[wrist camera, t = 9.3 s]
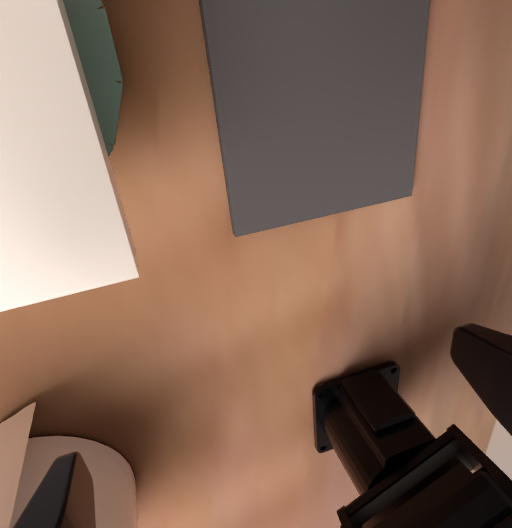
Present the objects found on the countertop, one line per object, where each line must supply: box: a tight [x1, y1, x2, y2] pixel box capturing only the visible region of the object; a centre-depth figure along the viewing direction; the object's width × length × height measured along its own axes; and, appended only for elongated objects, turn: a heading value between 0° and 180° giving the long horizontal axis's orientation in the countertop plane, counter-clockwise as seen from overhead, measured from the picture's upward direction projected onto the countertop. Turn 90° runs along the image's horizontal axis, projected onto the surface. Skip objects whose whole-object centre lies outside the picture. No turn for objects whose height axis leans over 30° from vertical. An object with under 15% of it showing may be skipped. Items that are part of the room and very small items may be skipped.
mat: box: [199, 0, 430, 237], centre depth 17 cm, size 15×10×1 cm, turn 6°
